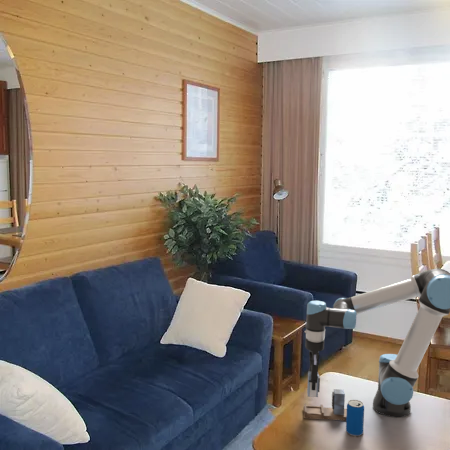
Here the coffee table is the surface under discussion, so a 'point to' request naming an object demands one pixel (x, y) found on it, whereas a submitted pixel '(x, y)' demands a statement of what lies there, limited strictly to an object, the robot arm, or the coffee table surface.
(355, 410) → the beverage can
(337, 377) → the coffee table surface
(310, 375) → the block
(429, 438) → the coffee table surface
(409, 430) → the coffee table surface
